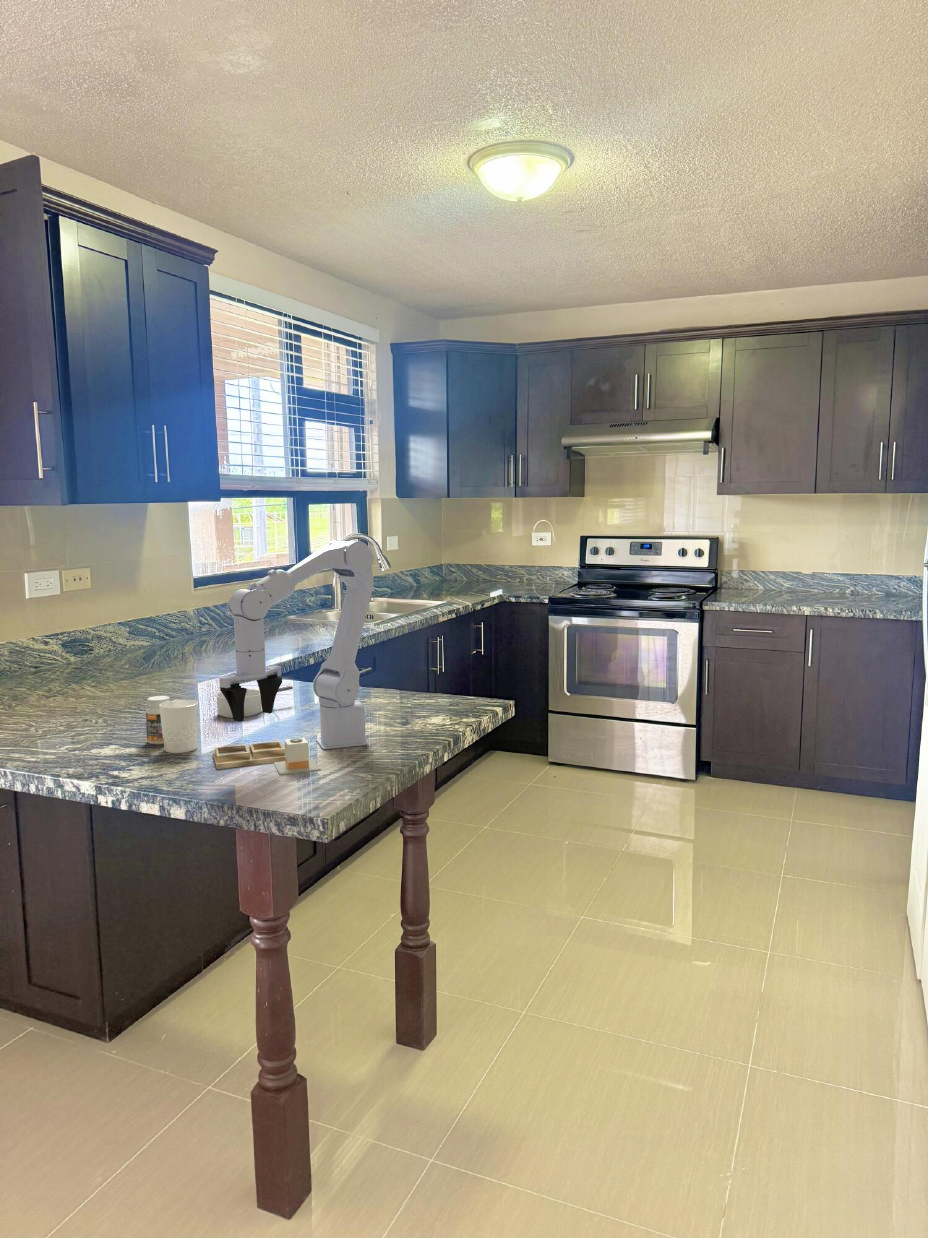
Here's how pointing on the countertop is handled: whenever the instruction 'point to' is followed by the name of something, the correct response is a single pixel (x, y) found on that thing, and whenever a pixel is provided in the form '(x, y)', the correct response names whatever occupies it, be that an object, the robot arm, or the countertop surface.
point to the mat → (284, 770)
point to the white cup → (179, 725)
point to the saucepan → (250, 704)
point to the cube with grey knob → (296, 753)
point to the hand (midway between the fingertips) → (253, 716)
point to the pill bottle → (154, 719)
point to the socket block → (248, 754)
